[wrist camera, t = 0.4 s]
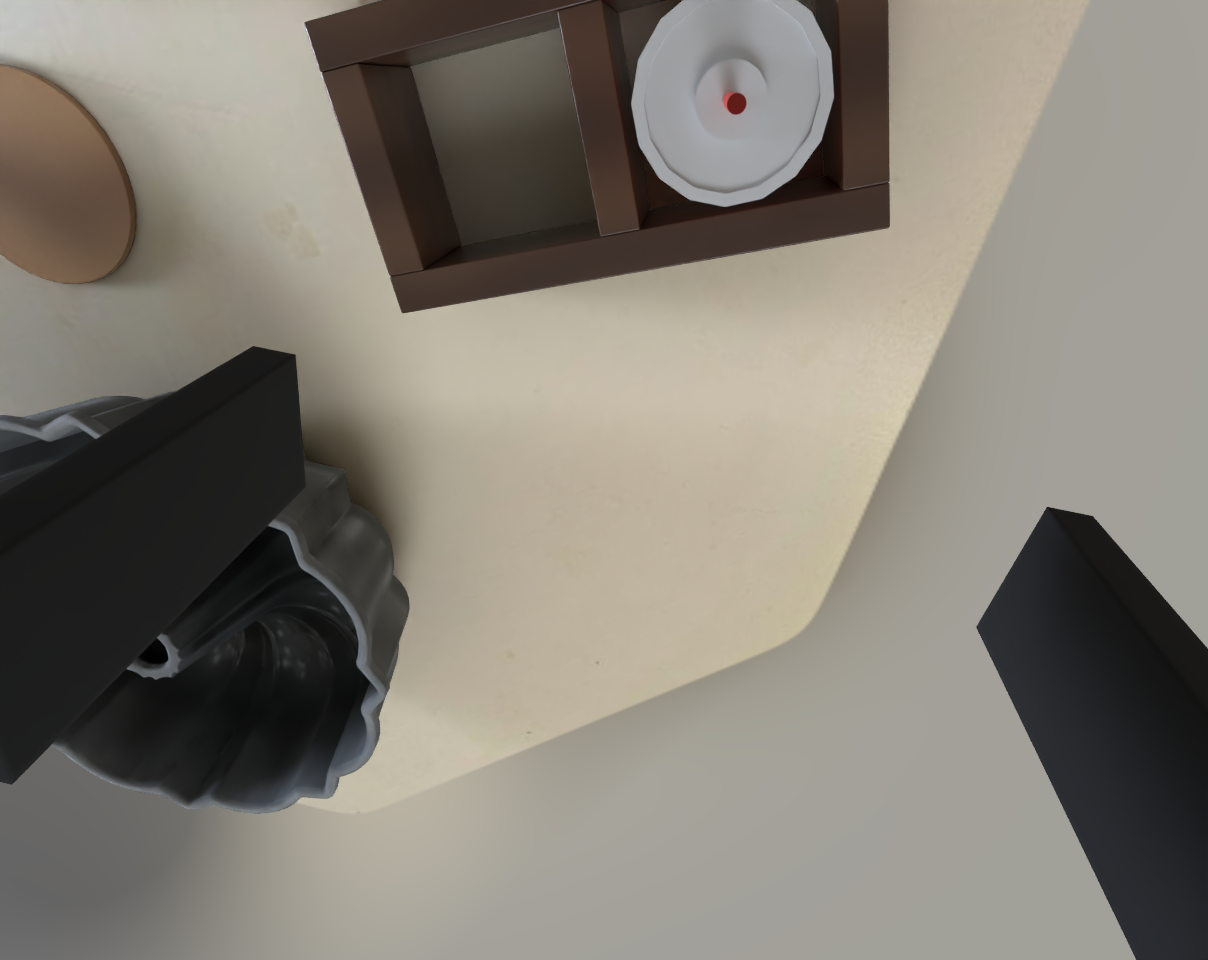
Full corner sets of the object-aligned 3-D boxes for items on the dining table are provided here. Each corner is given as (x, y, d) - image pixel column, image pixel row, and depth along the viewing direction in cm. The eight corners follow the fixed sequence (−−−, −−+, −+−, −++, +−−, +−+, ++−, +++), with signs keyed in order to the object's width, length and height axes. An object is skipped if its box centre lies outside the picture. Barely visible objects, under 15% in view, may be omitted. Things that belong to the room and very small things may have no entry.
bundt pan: (-42, 399, 42) (-236, 480, 33) (330, 291, 35) (208, 357, 27) (193, 707, 54) (94, 826, 45) (505, 669, 47) (459, 799, 38)
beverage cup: (628, 54, 29) (570, 30, 17) (773, -24, 27) (827, -114, 15) (682, 199, 31) (666, 271, 19) (818, 138, 29) (896, 174, 17)
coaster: (-104, 91, 33) (-113, 91, 33) (64, 41, 31) (57, 40, 31) (18, 296, 38) (11, 298, 38) (171, 264, 36) (166, 266, 35)
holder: (364, 31, 29) (302, 22, 25) (856, -102, 25) (887, -143, 21) (441, 284, 34) (401, 314, 30) (863, 207, 30) (890, 228, 26)
